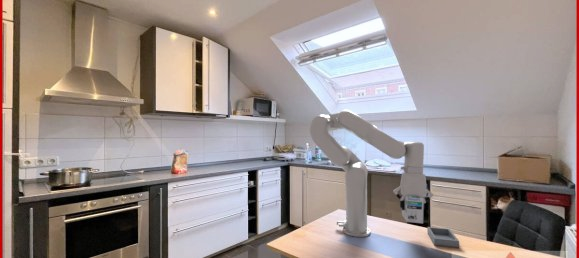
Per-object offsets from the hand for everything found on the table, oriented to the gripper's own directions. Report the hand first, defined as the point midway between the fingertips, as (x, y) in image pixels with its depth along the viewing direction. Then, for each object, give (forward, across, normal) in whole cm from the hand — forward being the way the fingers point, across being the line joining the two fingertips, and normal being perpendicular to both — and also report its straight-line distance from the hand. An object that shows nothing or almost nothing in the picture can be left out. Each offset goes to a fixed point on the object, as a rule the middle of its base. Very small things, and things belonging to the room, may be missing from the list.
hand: (412, 209), depth 116 cm
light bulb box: (+4, 0, 0) cm, 4 cm away
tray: (+12, +13, +2) cm, 18 cm away
